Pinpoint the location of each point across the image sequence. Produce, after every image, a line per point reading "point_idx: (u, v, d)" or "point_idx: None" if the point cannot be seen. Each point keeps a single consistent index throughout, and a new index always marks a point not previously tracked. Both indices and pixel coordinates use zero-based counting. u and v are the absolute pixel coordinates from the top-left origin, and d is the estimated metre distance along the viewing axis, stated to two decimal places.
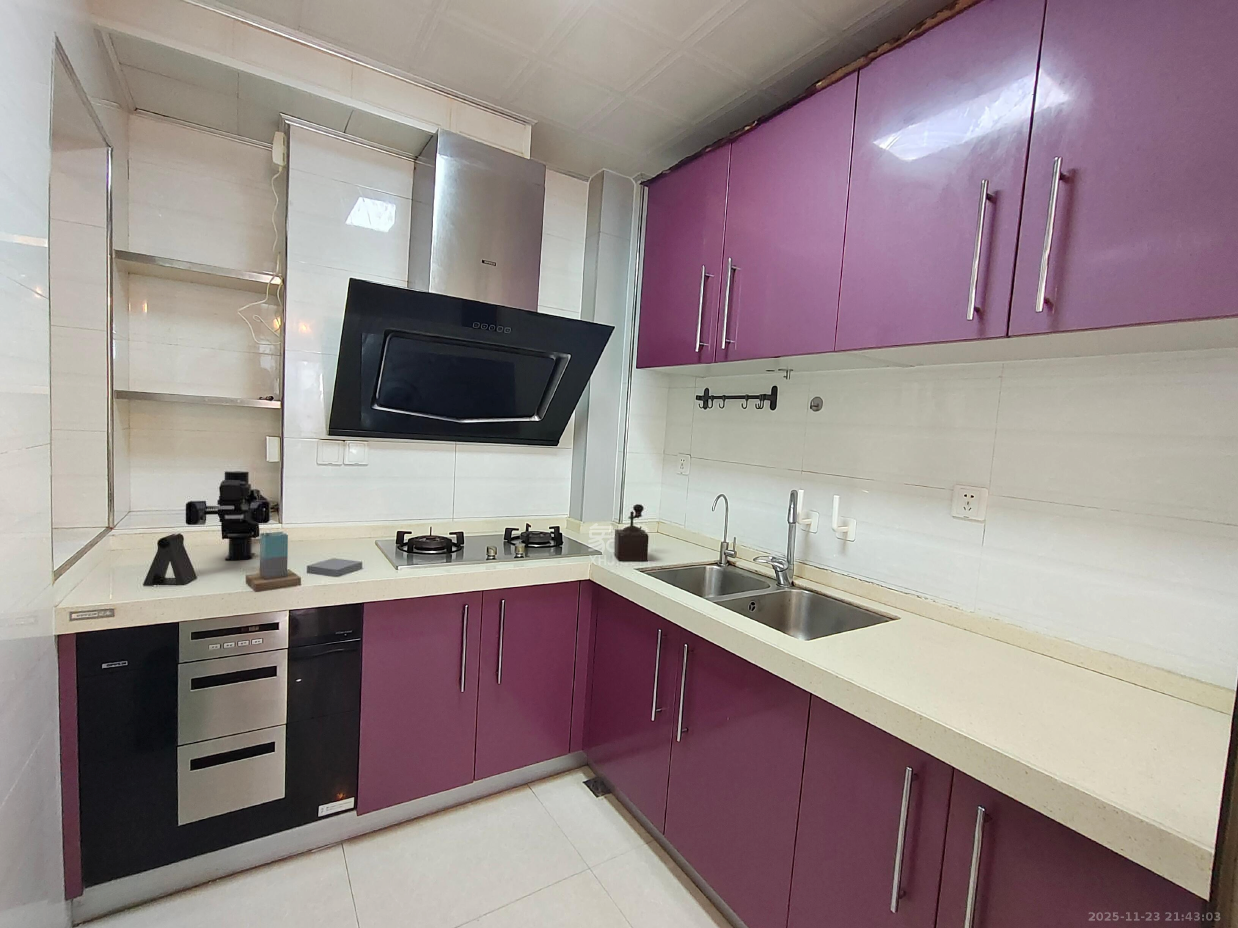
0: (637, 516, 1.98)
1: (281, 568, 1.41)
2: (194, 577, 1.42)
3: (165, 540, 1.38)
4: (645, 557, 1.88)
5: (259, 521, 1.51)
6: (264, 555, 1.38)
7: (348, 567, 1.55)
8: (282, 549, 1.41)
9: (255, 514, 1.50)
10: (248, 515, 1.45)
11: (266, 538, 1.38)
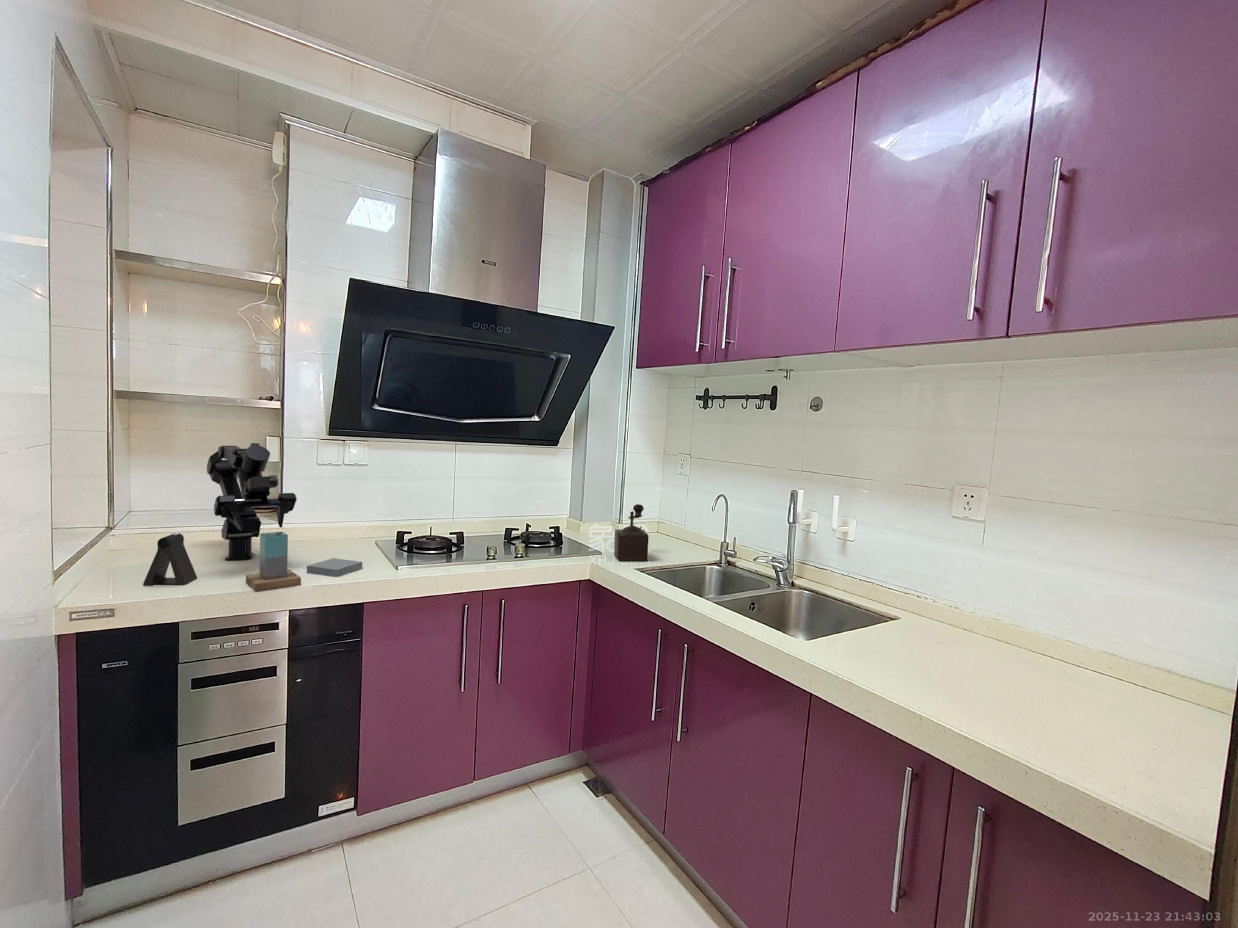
0: (637, 516, 1.98)
1: (281, 568, 1.41)
2: (194, 577, 1.42)
3: (165, 540, 1.38)
4: (645, 557, 1.88)
5: (285, 512, 1.58)
6: (264, 555, 1.38)
7: (348, 567, 1.55)
8: (282, 549, 1.41)
9: None
10: (282, 521, 1.53)
11: (266, 538, 1.38)
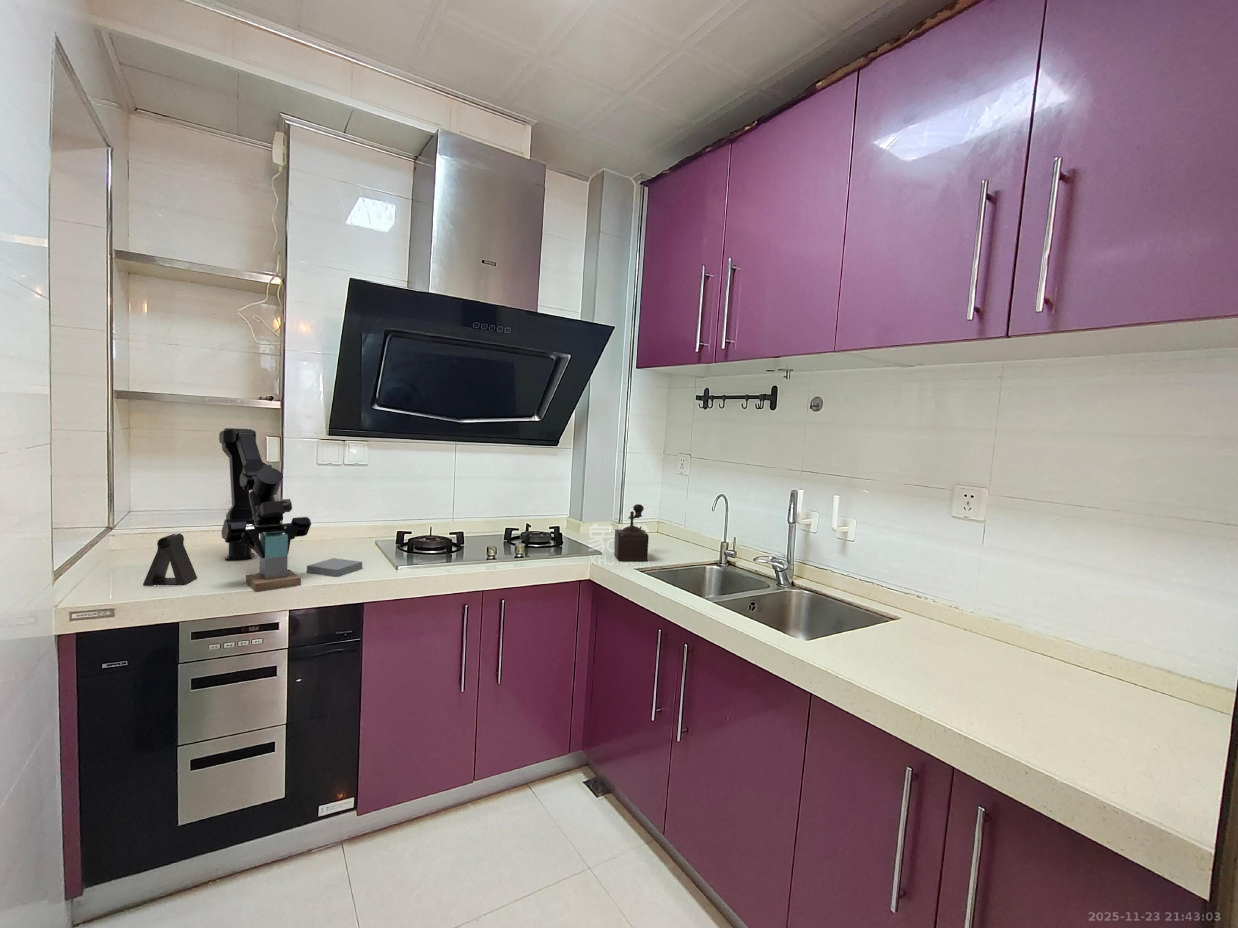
0: (637, 516, 1.98)
1: (281, 568, 1.41)
2: (194, 577, 1.42)
3: (165, 540, 1.38)
4: (645, 557, 1.88)
5: (291, 538, 1.48)
6: (264, 555, 1.38)
7: (348, 567, 1.55)
8: (282, 549, 1.41)
9: None
10: (288, 548, 1.44)
11: (266, 538, 1.38)
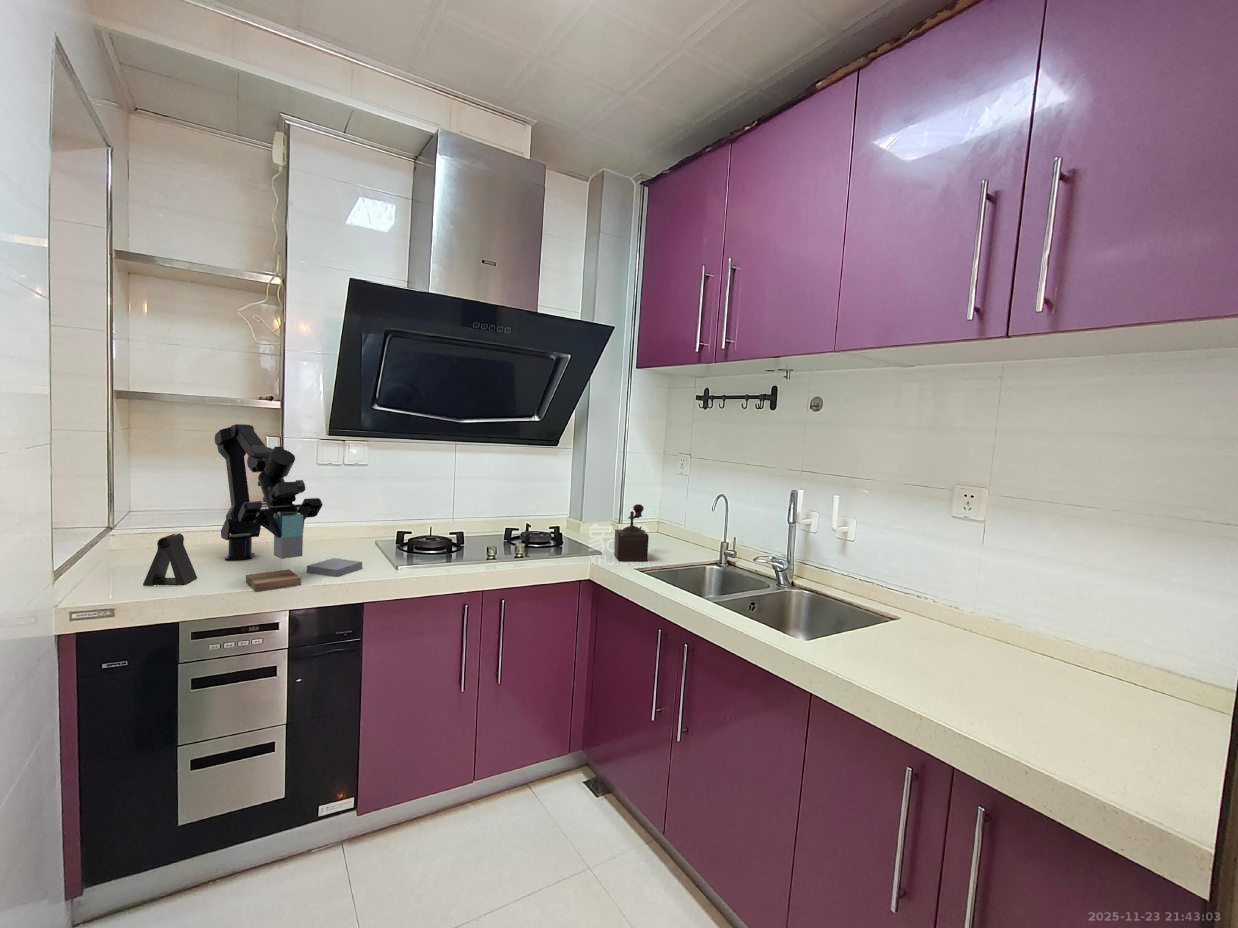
0: (637, 516, 1.98)
1: (297, 547, 1.43)
2: (194, 577, 1.42)
3: (165, 540, 1.38)
4: (645, 557, 1.88)
5: None
6: (280, 534, 1.41)
7: (348, 567, 1.55)
8: (298, 528, 1.43)
9: None
10: None
11: (283, 518, 1.40)
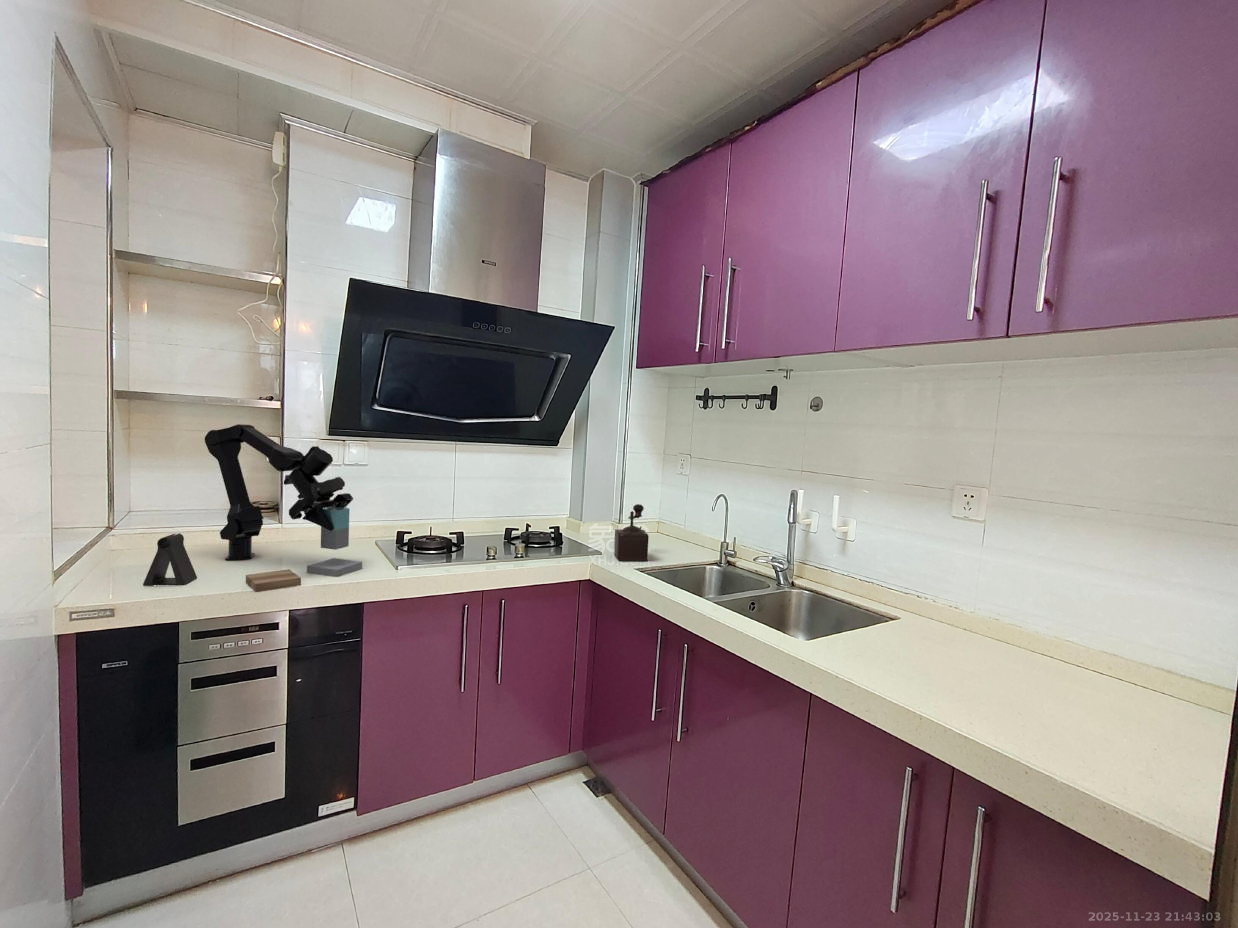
0: (637, 516, 1.98)
1: (345, 539, 1.57)
2: (194, 577, 1.42)
3: (165, 540, 1.38)
4: (645, 557, 1.88)
5: None
6: (333, 527, 1.53)
7: (348, 567, 1.55)
8: (346, 521, 1.57)
9: None
10: None
11: (337, 512, 1.53)
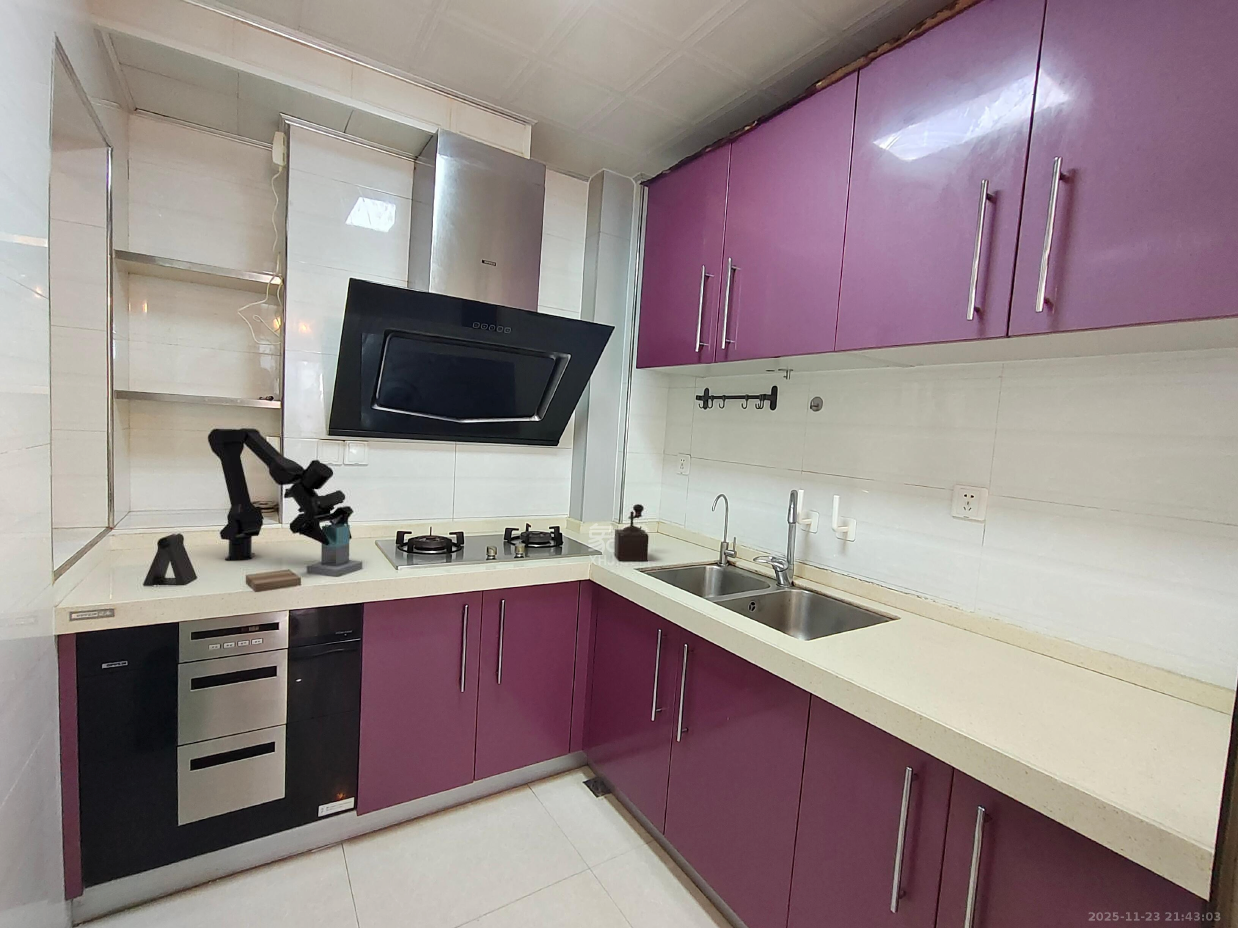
0: (637, 516, 1.98)
1: (345, 555, 1.57)
2: (194, 577, 1.42)
3: (165, 540, 1.38)
4: (645, 557, 1.88)
5: None
6: (334, 544, 1.54)
7: (348, 567, 1.55)
8: (346, 538, 1.57)
9: None
10: None
11: (337, 529, 1.53)
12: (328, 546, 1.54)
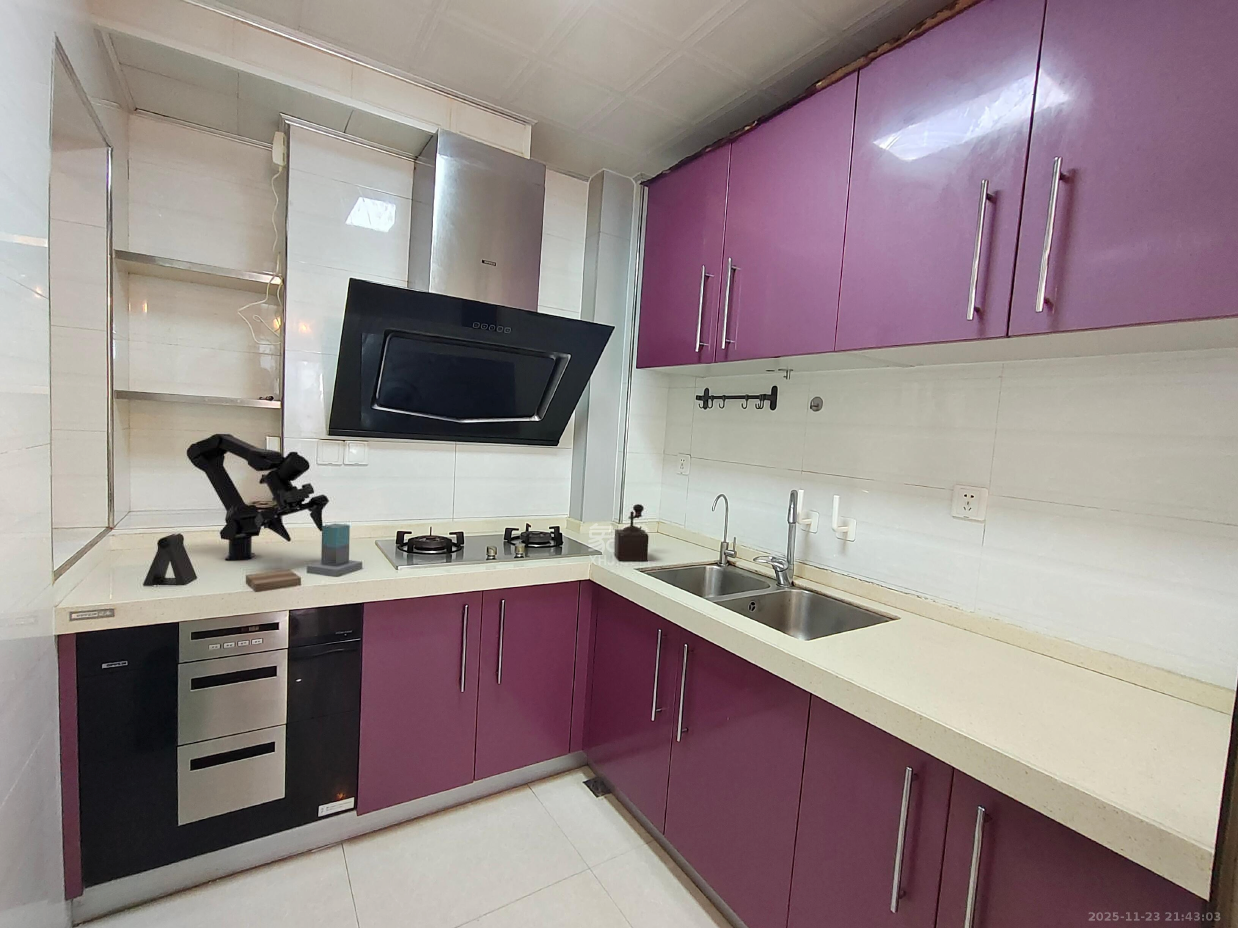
0: (637, 516, 1.98)
1: (345, 555, 1.57)
2: (194, 577, 1.42)
3: (165, 540, 1.38)
4: (645, 557, 1.88)
5: None
6: (334, 544, 1.54)
7: (348, 567, 1.55)
8: (346, 538, 1.57)
9: None
10: None
11: (337, 529, 1.53)
12: (328, 546, 1.54)
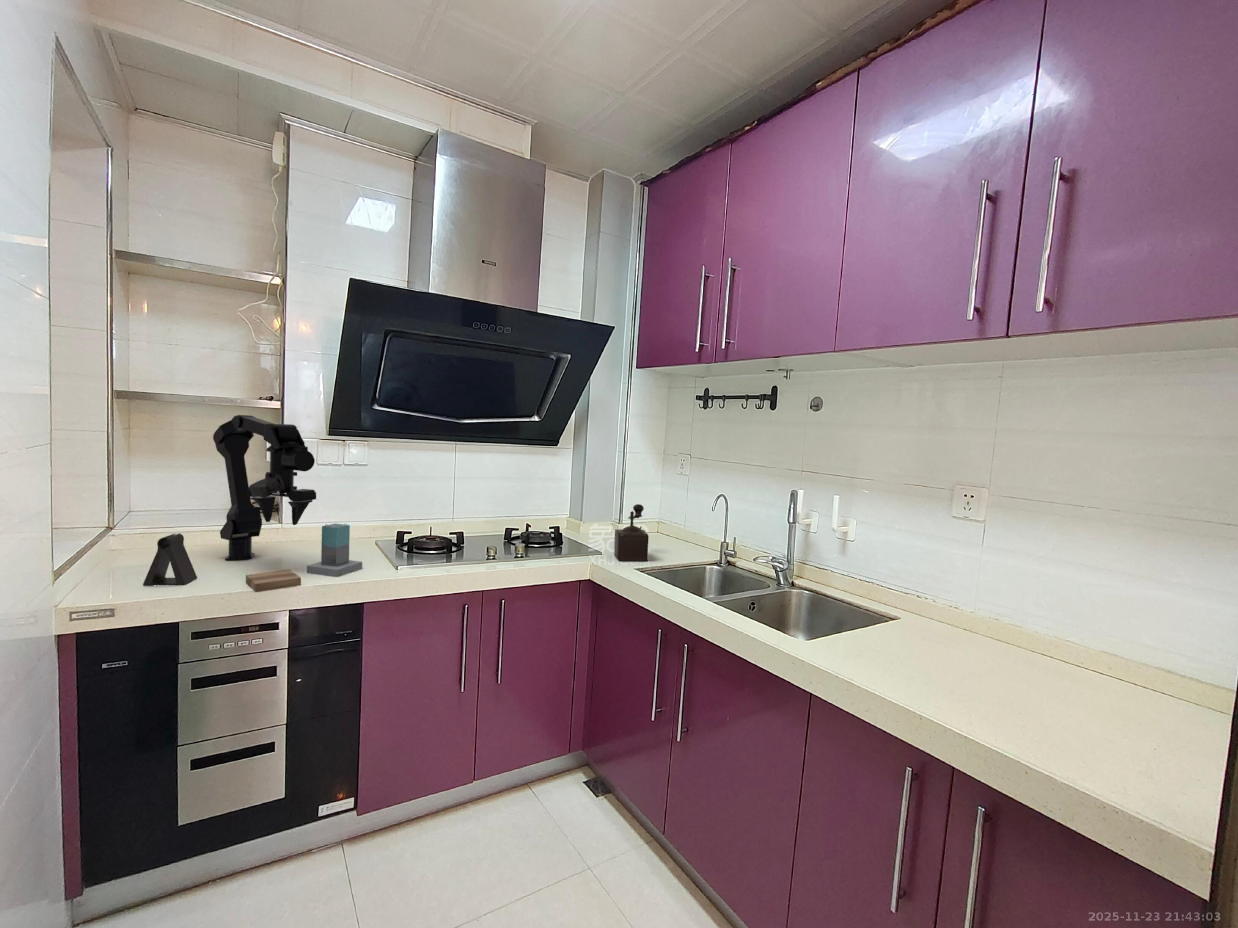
0: (637, 516, 1.98)
1: (345, 555, 1.57)
2: (194, 577, 1.42)
3: (165, 540, 1.38)
4: (645, 557, 1.88)
5: (309, 502, 1.56)
6: (334, 544, 1.54)
7: (348, 567, 1.55)
8: (346, 538, 1.57)
9: None
10: (296, 519, 1.54)
11: (337, 529, 1.53)
12: (328, 546, 1.54)
